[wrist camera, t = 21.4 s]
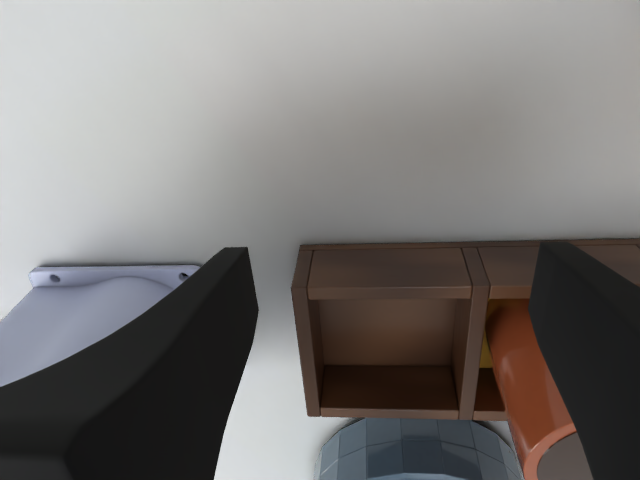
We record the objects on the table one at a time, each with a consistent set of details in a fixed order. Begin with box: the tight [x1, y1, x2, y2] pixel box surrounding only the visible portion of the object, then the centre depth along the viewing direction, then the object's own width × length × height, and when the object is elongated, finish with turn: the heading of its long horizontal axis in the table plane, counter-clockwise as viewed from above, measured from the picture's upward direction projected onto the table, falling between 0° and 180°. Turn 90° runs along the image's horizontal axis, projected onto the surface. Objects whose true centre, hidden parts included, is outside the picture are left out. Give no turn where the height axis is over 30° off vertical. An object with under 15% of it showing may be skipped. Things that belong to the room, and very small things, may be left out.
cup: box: [483, 299, 593, 480], centre depth 20 cm, size 6×6×8 cm
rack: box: [291, 239, 640, 421], centre depth 23 cm, size 16×8×4 cm, turn 94°
